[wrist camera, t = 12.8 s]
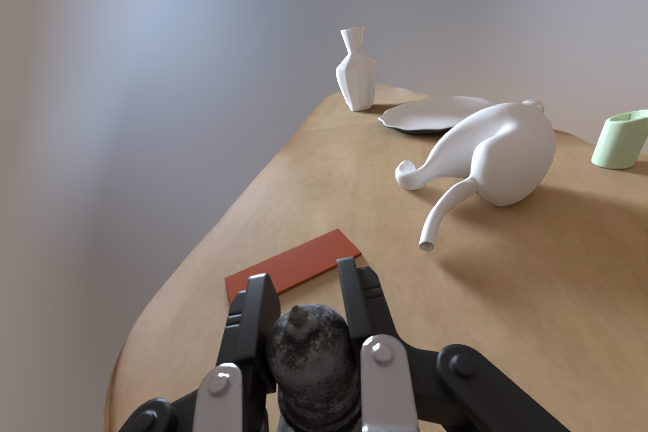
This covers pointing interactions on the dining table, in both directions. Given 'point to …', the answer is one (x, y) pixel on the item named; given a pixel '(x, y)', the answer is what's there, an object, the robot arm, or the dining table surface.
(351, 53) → the vase
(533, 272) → the dining table surface
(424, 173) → the stomach
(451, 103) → the plate
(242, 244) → the dining table surface
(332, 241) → the rectangular block
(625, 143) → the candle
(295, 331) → the chess piece
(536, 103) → the garlic bulb
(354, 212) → the dining table surface
